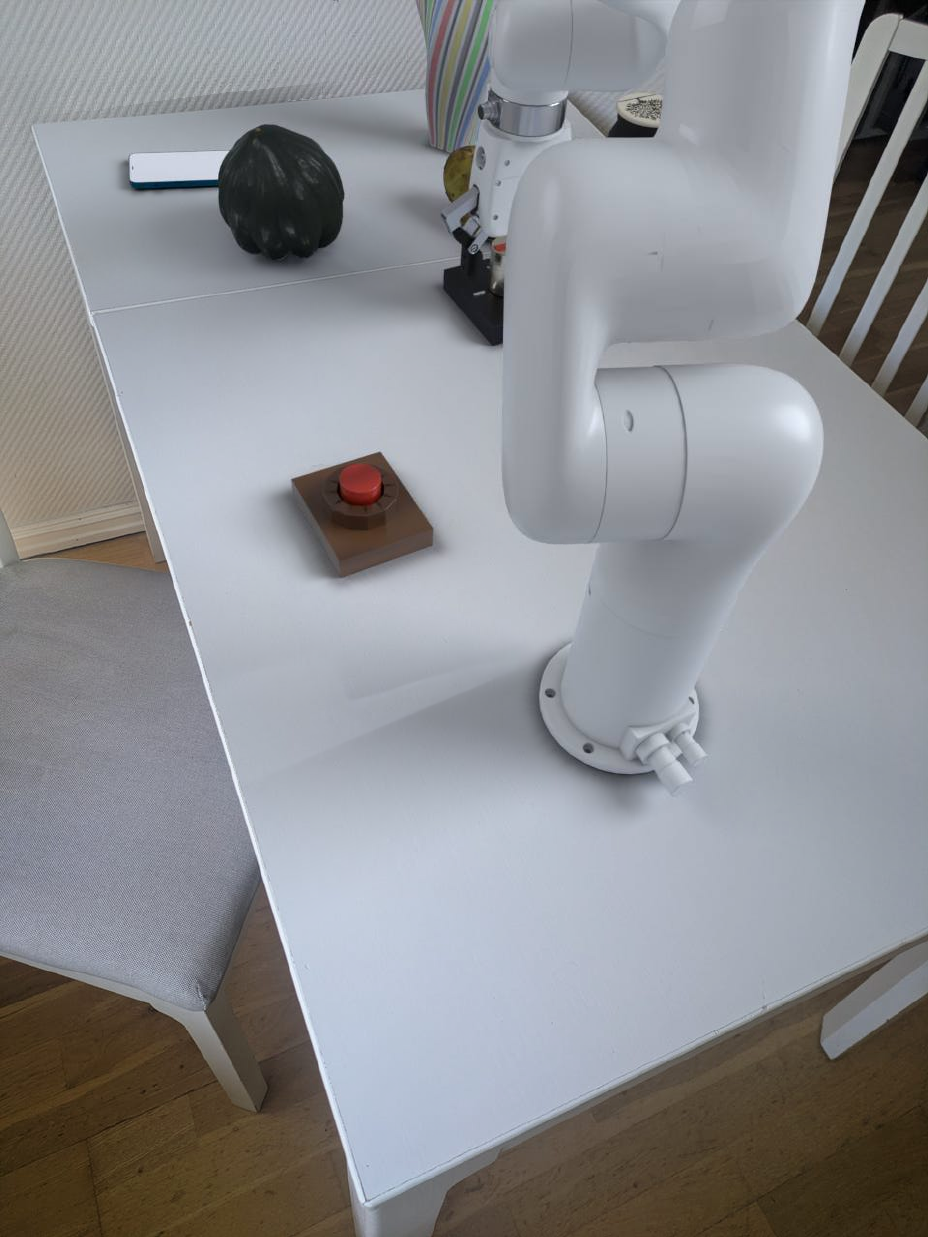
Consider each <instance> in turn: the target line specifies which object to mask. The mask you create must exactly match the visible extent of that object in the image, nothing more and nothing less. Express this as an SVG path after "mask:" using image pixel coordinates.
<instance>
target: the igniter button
mask: <svg viewBox="0 0 928 1237" xmlns="http://www.w3.org/2000/svg"><path fill="white" fill-rule="evenodd" d="M339 481H340V494H341V497H342V498H343V500H344V501H345V502H347V503H348V504H350V505H354V506H367V505H370V504H373V503H375V502H376V501H377V500H378V499H379V497H380V495H381V476H380V473H379V472H378V470H377V469H375V468H374V467H372V466H370V465H366V464H354V465H351V466H348V467H347V468H345V469H344V470H343V471H342V472H341V474H340V477H339Z"/></svg>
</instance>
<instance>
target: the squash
mask: <svg viewBox="0 0 928 1237" xmlns="http://www.w3.org/2000/svg"><path fill="white" fill-rule="evenodd" d="M229 150H230V151H229V152H228V154H227V155H226V156H225V158H224V160H223V161H222V164H221V166H220V170H219V173H218V185H217V186H218V195H217V198H218V201H217V202H218V207H219V212H220V215H221V217H222V219H223V220H224V222H225V224H226V225H227V226H228V228H230V231H231V234H232V236H233V238H234V240H235V242H236V244H237V246H238V247H239V248H240V249H242V250H243V251H244V252H246V253H248V254H251V255H252V254H253V255H259V254H263V256H265V257H266V258H267V259H268V260H271V261H279V260H280V261H281V260H283V259H284V258H286V257H287V256H288V255H289V253H291V254H292V255H293V256H295V257H296V258H299V259H309V258H311V257H312V256H313V255H314V253H316V251H317V249H324V248H326V247H329V246H330V245H331V244H332V243H334V242H335V241H336V239H337V238H338V236H339V235H340V232H341V230H342V226H343V221H344V200H345V196H346V195H345V190H344V184H343V180H342V177H341V174H340V171H339V169H338V167H337V165H336V164H335V162H334V160H333V159H332V158H331V157H330V156H329V155H328V154H327V153H326V151H324V148H322V147H321V145H320V144H319V143H318V142H317V141H315V140H314V139H313V138H311V137H309V136H307V135H304V134H301V133H300V132H299V133H298V132H296V131H293V130H291V129H289V128H286V127H284V126H280V125H278V124H274V123H273V124H269V123H268V124H267V123H264V124H260V125H258V126H256V127H253V128H251V129H250V130H248V131H246V132H245V133H244V134H243V135H241V137H240V138H238V139H237V140H236V141H235V142H234V143H233V145H232V147H231V149H229Z"/></svg>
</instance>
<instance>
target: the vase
mask: <svg viewBox="0 0 928 1237" xmlns="http://www.w3.org/2000/svg"><path fill="white" fill-rule="evenodd" d="M415 4H416V8H417V13H418V17H419V20H420V23H421V27H422V30H423V35H424V41H425V49H426V50H425V52H426V72H425V73H426V75H425V91H424V98H425V113H426V121H427V128H428V133H429V146H430V147H433V148H436V149H438V150H441V151H445V152H446V153H449V154H451V153H452V152H453V151H455V150H456V149H458V148H461V147H464V146H473V145H475V146H476V143H477V139H478V135H479V132H480V129H481V125H482V122H483V120H481V119H480V118H479V116H478V106H479V105H480V104H484V103H485V102H486V98H487V93H488V85H489V81H490V80H491V69H492V68H491V66H490V63H489V57H488V36H489V30H490V21H491V18H492V14H493V12H494V11H495V10H496V6H497V0H415Z"/></svg>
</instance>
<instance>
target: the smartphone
mask: <svg viewBox="0 0 928 1237" xmlns="http://www.w3.org/2000/svg"><path fill="white" fill-rule="evenodd" d="M230 150H231V149H221V150H220V149H219V150H217V149H216V150H187V151H182V150H181V151H155V152H153V151H150V152H133V153H130V154H129V155H128V181H129V186H130V187H131V188H133V189H158V188H161V189H162V188H185V187H187V188H189V187H210V186H211V187H212V186H213V187H215V186H218V173H219V170H220V166H221V164H222V161H223V160H224V158H225V156H226V155H227V154H228V152H229V151H230Z"/></svg>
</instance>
